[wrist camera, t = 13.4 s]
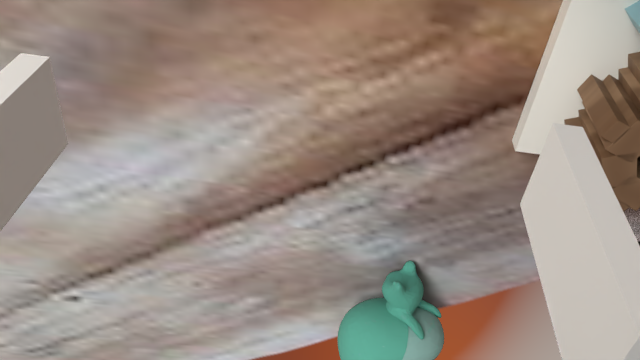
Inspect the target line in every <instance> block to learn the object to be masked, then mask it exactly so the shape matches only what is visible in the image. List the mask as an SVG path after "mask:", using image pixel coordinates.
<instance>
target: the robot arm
mask: <svg viewBox="0 0 640 360" xmlns="http://www.w3.org/2000/svg"><path fill="white" fill-rule="evenodd" d="M67 145H68V140H67V135H66V131H65V126H64V121H63V117H62V112H61V107H60V103H59V98H58V93H57V89H56V84H55V79H54V75H53V70H52V65H51V61H50V57H46V56H38V55H30V54H23V53H21V54H19V55H18V56H17V57H16V58H15V59H14V60H13V61H12V62H10V63H9V64H8V65H7V66H6V67H5V68H4V69H2V70H1V71H0V231H1V230H2V229H3V227H4V226H5V225H6V224H7V222H8V221H9V220H10V218H11V217H12V216H13V215H14V213H15V212H16V211H17V209H18V208H19V207H20V205H21V204H22V203H23V202H24V200H25V199H26V198H27V196H28V195H29V194H30V193H31V191H32V190H33V189H34V187H35V186H36V185H37V183H38V182H39V181H40V180H41V178H42V177H43V176H44V174H45V173H46V172H47V171H48V169H49V168H50V167H51V165H52V164H53V163H54V161H55V160H56V159H57V158H58V156H59V155H60V154H61V152H62V151H63V150H64V149H65V147H66V146H67ZM520 206H521V210H522V213H523V217H524V221H525V225H526V228H527V232H528V236H529V239H530V243H531V247H532V251H533V254H534V258H535V262H536V265H537V269H538V273H539V277H540V280H541V284H542V288H543V291H544V295H545V299H546V303H547V306H548V310H549V314H550V317H551V321H552V325H553V329H554V332H555V336H556V340H557V343H558V347H559V351H560V355H561V358H562V360H640V242H639V241H637V239H636V237H635V235H634V233H633V231H632V229H631V227H630V225H629V223H628V221H627V219H626V216H625V214H624V212H623V210H622V208H621V206H620V204H619V202H618V200H617V198H616V195H615V193H614V191H613V189H612V187H611V185H610V183H609V181H608V179H607V177H606V175H605V172H604V170H603V168H602V166H601V164H600V162H599V160H598V158H597V156H596V154H595V151H594V149H593V147H592V145H591V143H590V141H589V139H588V137H587V135H586V133H585V131H584V128H583V127H579V126H571V125H563V124H556V123H553V124H552V127H551V129H550V132H549V134H548V137H547V139H546V142H545V144H544V146H543V149H542V151H541V154H540V156H539V159H538V161H537V164H536V166H535V169H534V171H533V173H532V176H531V178H530V181H529V183H528V186H527V188H526V191H525V193H524V196H523V198H522V200H521V203H520Z"/></svg>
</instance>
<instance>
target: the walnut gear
mask: <svg viewBox="0 0 640 360" xmlns="http://www.w3.org/2000/svg"><path fill="white" fill-rule="evenodd" d="M577 91H578V93H579V95H580V97H581V99H582V104H583V106H584V108H585V109H581V110H578V113H579V117H576V118H570V119H565V120H564V123H565V125H571V126H579V127H583V128H584V131H585V133H586V135H587V137H588V139H589V141H590V143H591V145H592V147H593V149H594V151H595V154H596V156H597V158H598V160H599V162H600V164H601V166H602V168H603V170H604V172H605V175H606V177H607V179H608V181H609V183H610V185H611V187H612V189H613V191H614V193H615V195H616V198H617V200H618V202H619V204H620V206H621V208H622V210H623V212H624V211H625V210H626V209H628V208H629V207H630V208H632V209H633V210H635V211H636V210H637V209H639V208H640V52H636V53H631V54H628V67H626V68H621V69H618V79H616V78H614V77H613V76H611V75H608V76H607V77H606V78H605V79H604V80H603V81H602V80H600V79H598V78H597V77H595V76H593V75H592V74H591V75H590V76H589V77H588V78H587V79H586V81H585V82H584V83H583V84H582V85H581V86H580V87H579V88H578V89H577Z"/></svg>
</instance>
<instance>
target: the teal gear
mask: <svg viewBox="0 0 640 360" xmlns="http://www.w3.org/2000/svg"><path fill="white" fill-rule="evenodd" d="M625 11H626V12H627V14H628V16H629V18H630V20H631V22H632V24H633V26H634V27H635V28H636V29H637V30H638V32H639V33H640V0H639V1H637V2H636V3H634V4H632V5H631V6H629V7H627V8H625Z"/></svg>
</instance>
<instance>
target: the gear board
mask: <svg viewBox="0 0 640 360" xmlns="http://www.w3.org/2000/svg"><path fill="white" fill-rule="evenodd" d="M637 1H639V0H563V2H562V4H561V7H560V10H559V13H558V15H557V18H556V21H555V24H554V26H553V29H552V32H551V35H550V37H549V40H548V43H547V46H546V48H545V51H544V54H543V57H542V59H541V62H540V65H539V68H538V70H537V73H536V76H535V79H534V81H533V84H532V87H531V89H530V92H529V95H528V98H527V100H526V103H525V106H524V109H523V111H522V114H521V117H520V120H519V122H518V125H517V128H516V131H515V133H514V136H513V139H512V142H513V145H514V149H515V151H518V152H525V153H533V154H541V151H542V149H543V146H544V144H545V142H546V139H547V137H548V134H549V132H550V129H551V127H552V124H553V123H556V124H563V125H565V123H564V120H565V119H570V118H576V117H579V113H578V110H581V109H585V108H584V106H583V104H582V99H581V97H580V95H579V93H578V91H577V89H578V88H579V87H580V86H581V85H582V84H583V83H584V82H585V81H586V79H587V78H588V77H589V76H590V75H591V74H592V75H593V76H595V77H597V78H598V79H600V80H602V81H603V80H604V79H605V78H606V77H607V76H608V75H611V76H613V77H614V78H616V79H618V69H621V68H626V67H628V54H631V53H636V52H640V33H639V32H638V30H637V29H636V28H635V27H634V26H633V24H632V22H631V20H630V18H629V16H628V14H627V12H626V11H625V8H627V7H629V6H631V5H632V4H634V3H636V2H637Z"/></svg>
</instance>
